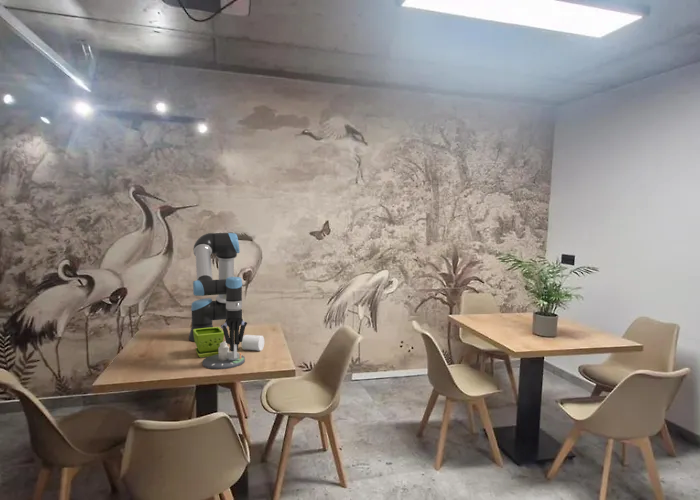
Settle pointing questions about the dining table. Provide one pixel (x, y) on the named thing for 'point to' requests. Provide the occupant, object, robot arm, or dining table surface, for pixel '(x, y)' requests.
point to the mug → (252, 342)
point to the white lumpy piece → (226, 352)
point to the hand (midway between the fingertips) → (234, 357)
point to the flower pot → (208, 341)
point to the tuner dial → (222, 362)
